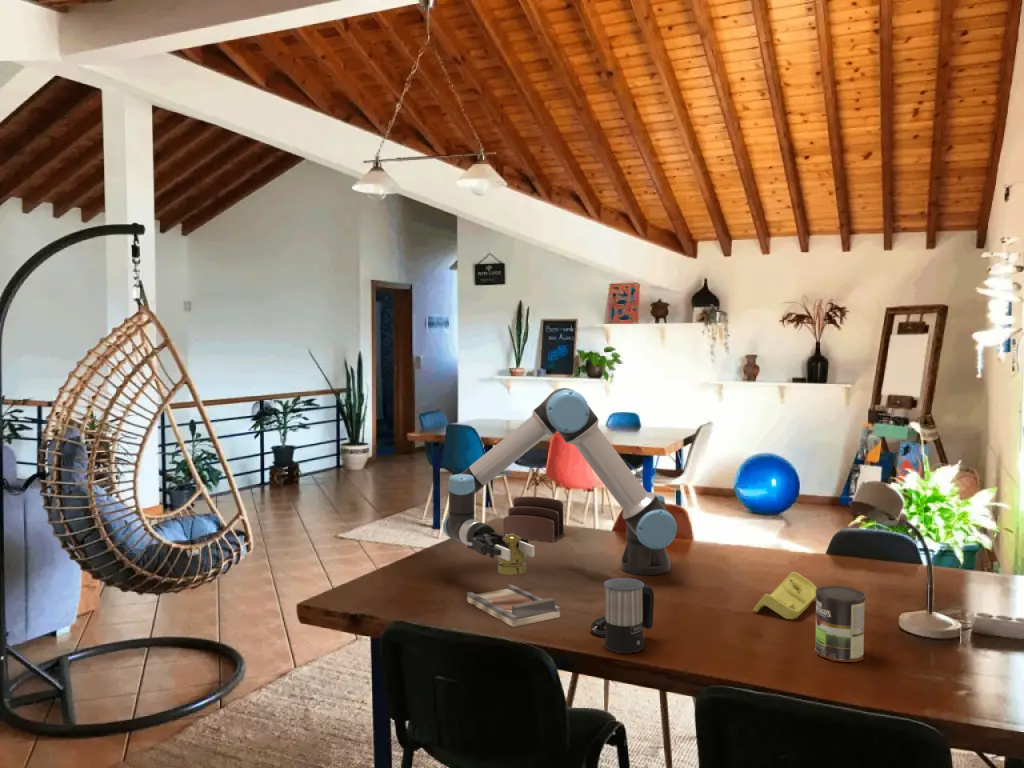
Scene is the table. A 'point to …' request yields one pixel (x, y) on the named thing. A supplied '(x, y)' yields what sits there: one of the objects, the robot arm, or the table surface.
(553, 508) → the letter holder
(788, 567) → the table surface
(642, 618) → the milk frother
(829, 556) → the table surface
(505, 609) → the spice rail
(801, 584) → the plastic component
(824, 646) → the coffee can
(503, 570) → the gold chess piece
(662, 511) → the robot arm
